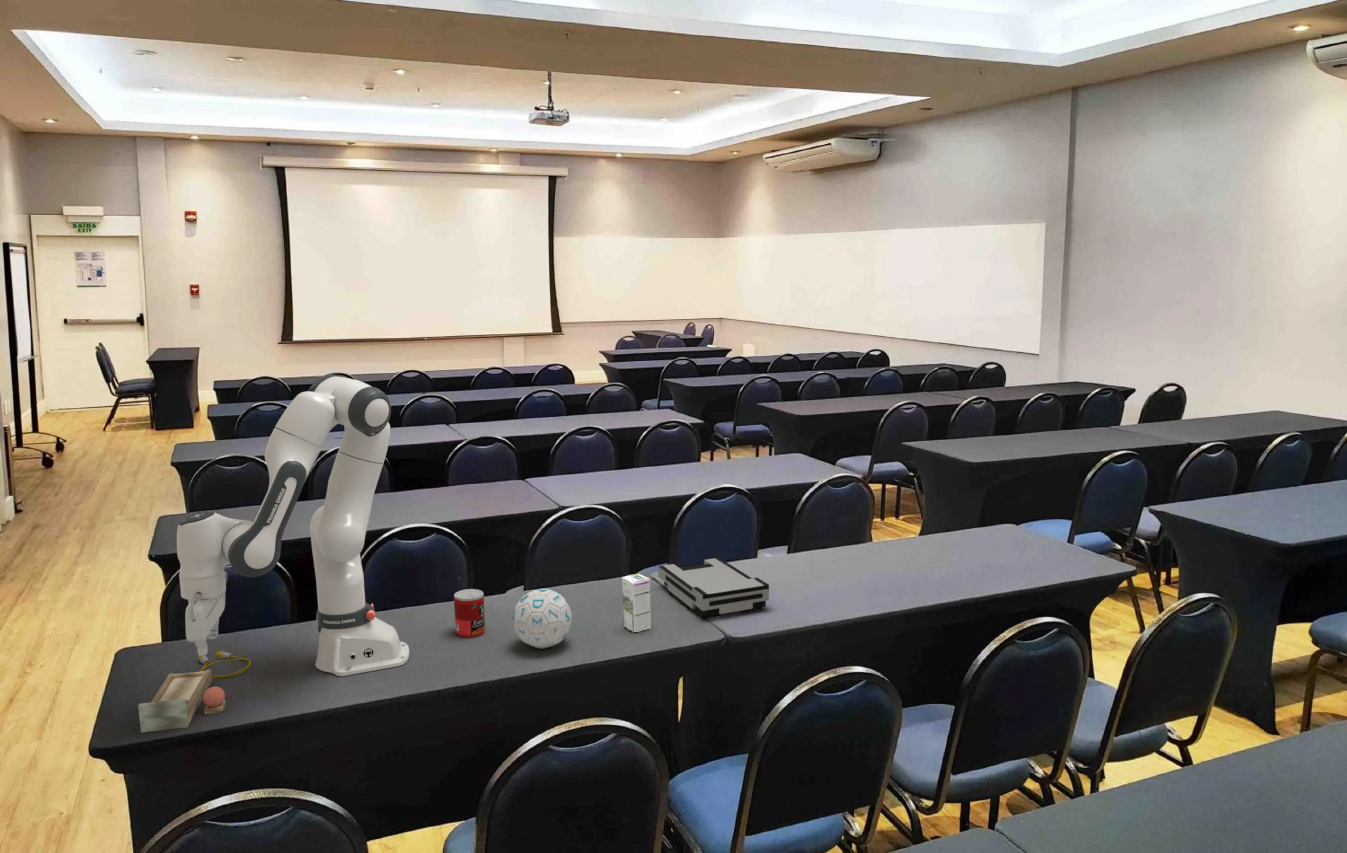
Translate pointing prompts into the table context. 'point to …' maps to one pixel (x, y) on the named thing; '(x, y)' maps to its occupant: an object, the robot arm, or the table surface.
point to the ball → (213, 696)
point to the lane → (175, 701)
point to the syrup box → (636, 602)
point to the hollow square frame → (214, 708)
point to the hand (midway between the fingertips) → (208, 645)
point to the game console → (714, 588)
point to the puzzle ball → (542, 618)
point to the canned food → (469, 612)
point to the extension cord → (222, 655)
